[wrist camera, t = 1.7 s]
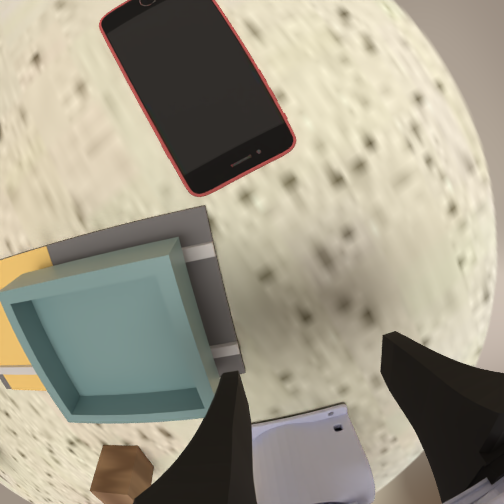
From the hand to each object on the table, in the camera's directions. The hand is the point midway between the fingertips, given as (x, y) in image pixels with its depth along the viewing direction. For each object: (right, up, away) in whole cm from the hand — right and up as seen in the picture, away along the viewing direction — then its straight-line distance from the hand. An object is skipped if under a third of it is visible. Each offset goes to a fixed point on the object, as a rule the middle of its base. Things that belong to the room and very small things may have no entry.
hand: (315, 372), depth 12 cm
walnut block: (-15, -16, +13) cm, 25 cm away
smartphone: (-6, +15, +4) cm, 17 cm away
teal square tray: (-11, 0, +7) cm, 13 cm away
